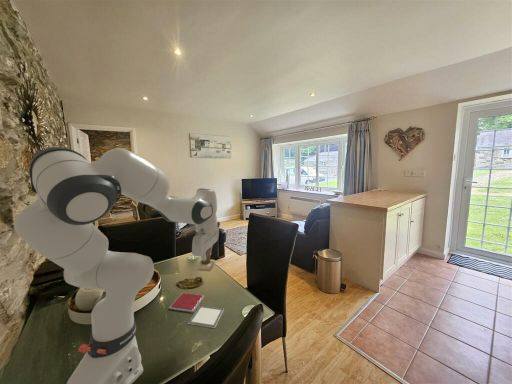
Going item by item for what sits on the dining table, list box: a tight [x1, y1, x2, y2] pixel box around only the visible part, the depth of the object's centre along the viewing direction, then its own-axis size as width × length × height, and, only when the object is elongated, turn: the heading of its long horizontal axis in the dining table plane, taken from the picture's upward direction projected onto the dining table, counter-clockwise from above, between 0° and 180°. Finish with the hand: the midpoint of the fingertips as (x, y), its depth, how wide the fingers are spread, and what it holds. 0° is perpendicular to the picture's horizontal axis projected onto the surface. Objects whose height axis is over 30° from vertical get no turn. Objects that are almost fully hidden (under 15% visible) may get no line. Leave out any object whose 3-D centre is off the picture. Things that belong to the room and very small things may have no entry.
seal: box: [176, 276, 205, 290], centre depth 120 cm, size 9×5×15 cm
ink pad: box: [168, 292, 205, 313], centre depth 104 cm, size 12×12×1 cm
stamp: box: [195, 248, 216, 273], centre depth 92 cm, size 6×6×9 cm
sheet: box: [187, 304, 225, 329], centre depth 95 cm, size 12×12×1 cm
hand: (206, 257), depth 92 cm, fingers closed on stamp, 4 cm apart
